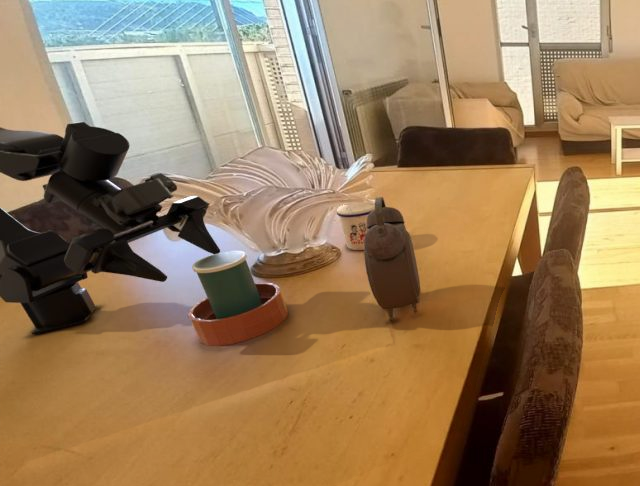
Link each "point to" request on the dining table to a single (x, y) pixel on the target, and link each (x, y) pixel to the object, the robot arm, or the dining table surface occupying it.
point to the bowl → (239, 319)
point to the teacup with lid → (355, 223)
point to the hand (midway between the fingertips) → (193, 265)
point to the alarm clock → (390, 259)
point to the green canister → (228, 283)
